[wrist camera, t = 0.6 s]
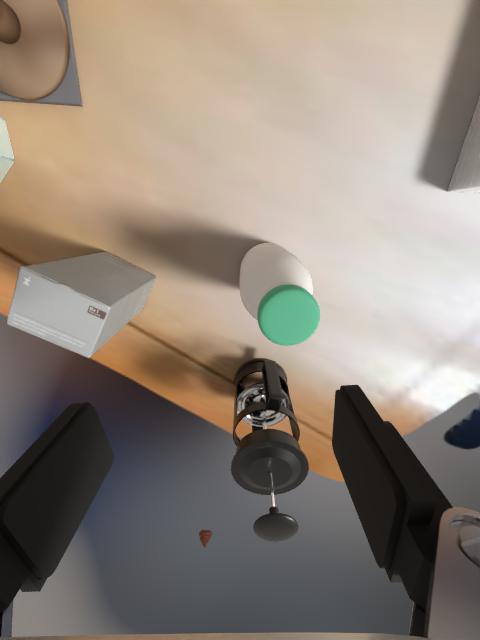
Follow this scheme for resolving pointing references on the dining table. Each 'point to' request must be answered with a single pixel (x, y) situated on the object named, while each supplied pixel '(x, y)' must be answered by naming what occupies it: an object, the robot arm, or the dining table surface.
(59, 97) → the mat
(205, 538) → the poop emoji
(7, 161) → the bowl
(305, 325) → the milk bottle
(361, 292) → the dining table surface
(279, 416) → the french press
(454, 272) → the dining table surface
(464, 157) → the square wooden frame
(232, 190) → the dining table surface
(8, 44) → the lid
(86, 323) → the skincare box
